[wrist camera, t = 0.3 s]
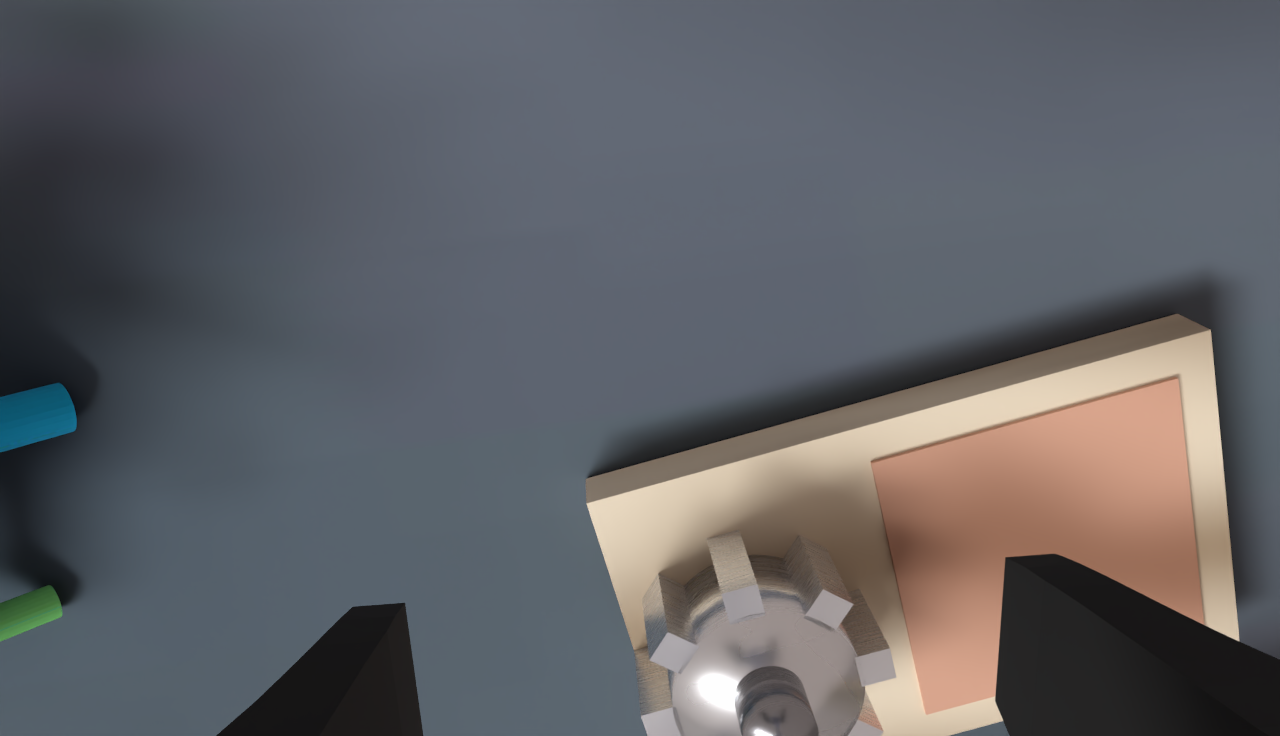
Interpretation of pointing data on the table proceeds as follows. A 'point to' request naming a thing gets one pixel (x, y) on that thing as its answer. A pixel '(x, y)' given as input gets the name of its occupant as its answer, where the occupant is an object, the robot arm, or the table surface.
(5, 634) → the toy dinosaur
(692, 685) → the sun gear
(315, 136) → the table surface
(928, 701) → the plate
